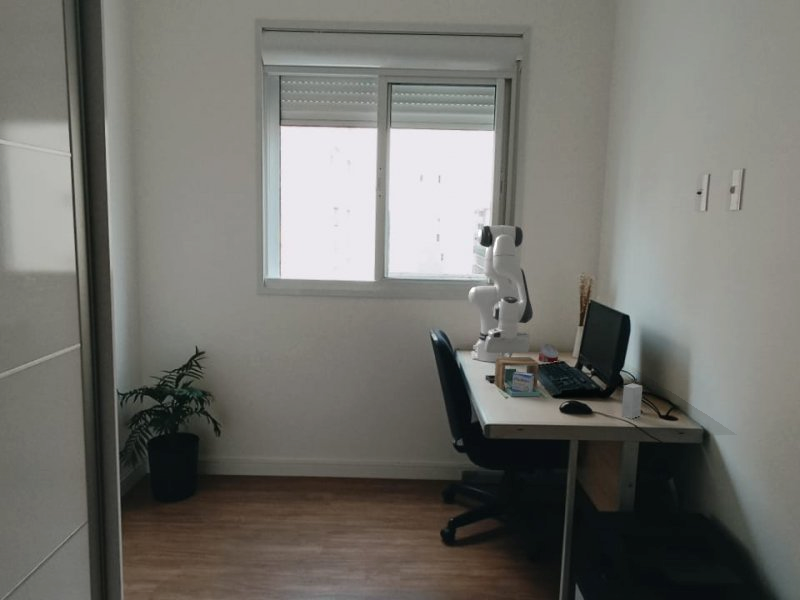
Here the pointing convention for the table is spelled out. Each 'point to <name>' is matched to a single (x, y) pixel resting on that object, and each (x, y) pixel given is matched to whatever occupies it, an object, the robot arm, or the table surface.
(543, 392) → the bay marker right
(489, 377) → the pit left
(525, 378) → the medicine box
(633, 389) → the skincare box
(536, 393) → the sled
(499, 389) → the bay marker left
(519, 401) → the table surface
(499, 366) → the tunnel
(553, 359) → the canned food
